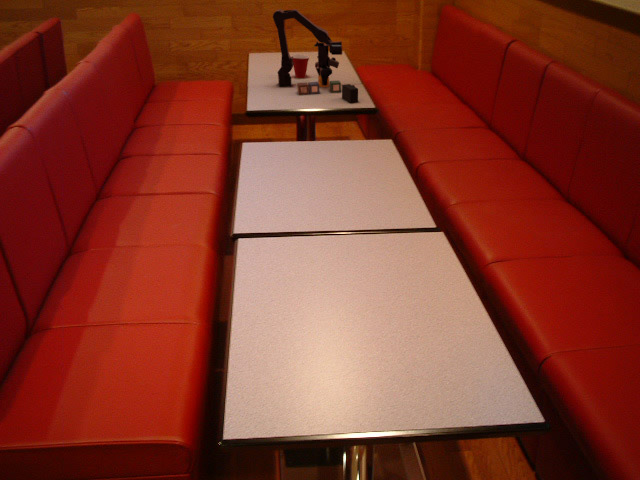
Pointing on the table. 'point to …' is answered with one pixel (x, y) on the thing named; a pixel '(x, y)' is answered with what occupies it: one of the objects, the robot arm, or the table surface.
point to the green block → (335, 86)
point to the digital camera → (350, 93)
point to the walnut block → (302, 88)
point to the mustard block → (322, 82)
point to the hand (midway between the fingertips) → (323, 83)
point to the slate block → (313, 87)
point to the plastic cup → (300, 65)
